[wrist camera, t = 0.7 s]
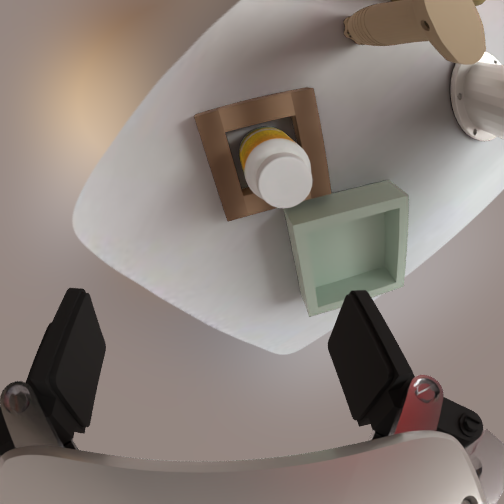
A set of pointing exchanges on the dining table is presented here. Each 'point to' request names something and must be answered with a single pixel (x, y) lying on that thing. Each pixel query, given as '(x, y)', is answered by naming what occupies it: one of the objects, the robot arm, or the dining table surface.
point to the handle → (422, 27)
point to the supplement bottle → (275, 167)
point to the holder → (254, 112)
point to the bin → (349, 243)
